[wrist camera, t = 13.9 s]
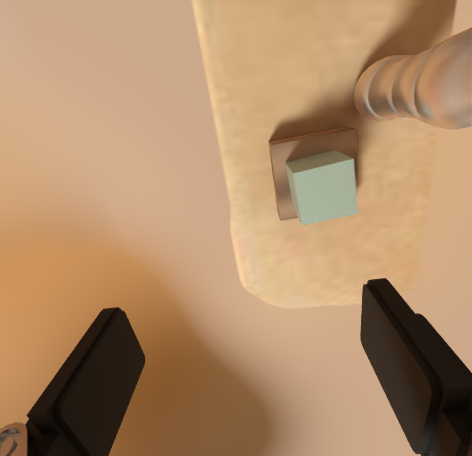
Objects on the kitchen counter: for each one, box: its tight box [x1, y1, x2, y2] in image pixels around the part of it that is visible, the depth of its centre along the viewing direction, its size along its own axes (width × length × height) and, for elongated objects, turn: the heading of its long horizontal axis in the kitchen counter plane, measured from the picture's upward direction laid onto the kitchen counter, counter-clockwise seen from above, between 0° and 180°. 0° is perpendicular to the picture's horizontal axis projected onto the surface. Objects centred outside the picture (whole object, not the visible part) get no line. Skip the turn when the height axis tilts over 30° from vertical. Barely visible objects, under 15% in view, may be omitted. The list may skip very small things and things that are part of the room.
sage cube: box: [285, 150, 358, 226], centre depth 30 cm, size 6×6×6 cm
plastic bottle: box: [354, 28, 472, 129], centre depth 22 cm, size 6×7×20 cm
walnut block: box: [269, 127, 357, 221], centre depth 34 cm, size 10×10×4 cm
